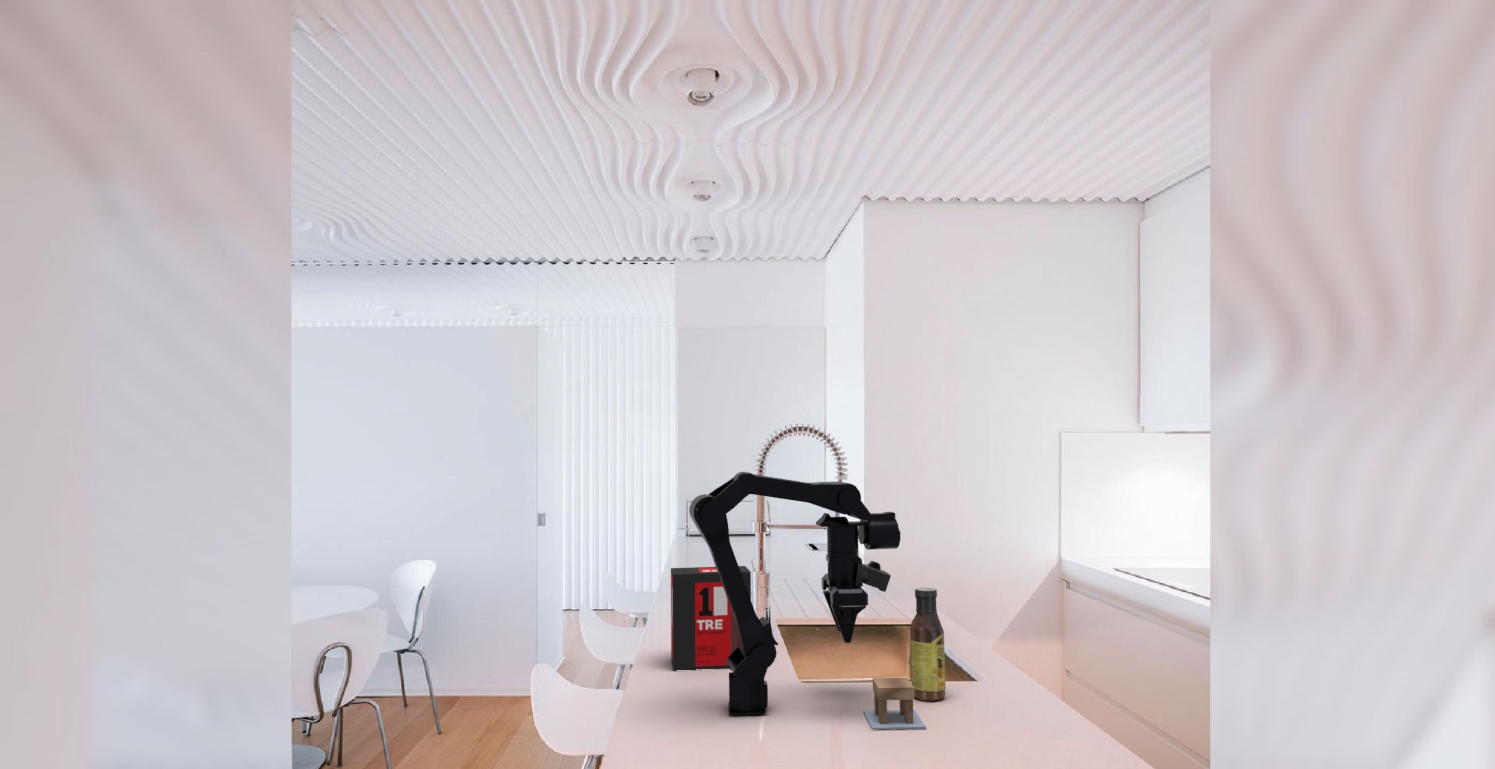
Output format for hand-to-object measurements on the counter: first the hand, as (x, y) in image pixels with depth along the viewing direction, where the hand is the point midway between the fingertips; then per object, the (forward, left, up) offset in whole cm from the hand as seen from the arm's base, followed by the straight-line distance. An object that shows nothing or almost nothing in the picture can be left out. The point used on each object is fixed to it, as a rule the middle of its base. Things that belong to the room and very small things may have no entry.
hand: (844, 636), depth 158 cm
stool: (+7, -10, -12) cm, 17 cm away
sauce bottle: (+16, +3, -12) cm, 20 cm away
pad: (+7, -10, -12) cm, 17 cm away
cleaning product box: (-25, +29, -12) cm, 40 cm away
